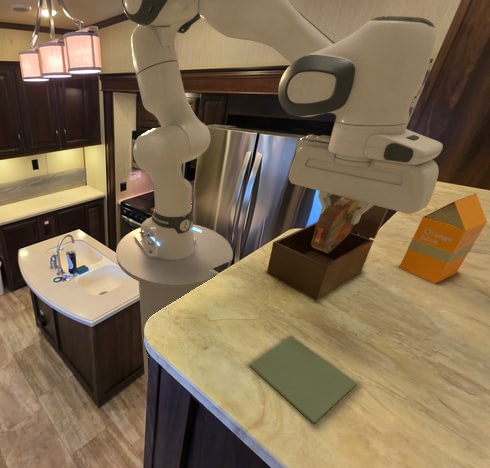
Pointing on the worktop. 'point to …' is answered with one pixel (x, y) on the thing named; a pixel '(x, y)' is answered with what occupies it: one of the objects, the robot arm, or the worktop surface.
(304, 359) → the mat
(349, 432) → the worktop surface
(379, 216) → the lid
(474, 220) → the orange juice
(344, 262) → the brown open box
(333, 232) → the tin
